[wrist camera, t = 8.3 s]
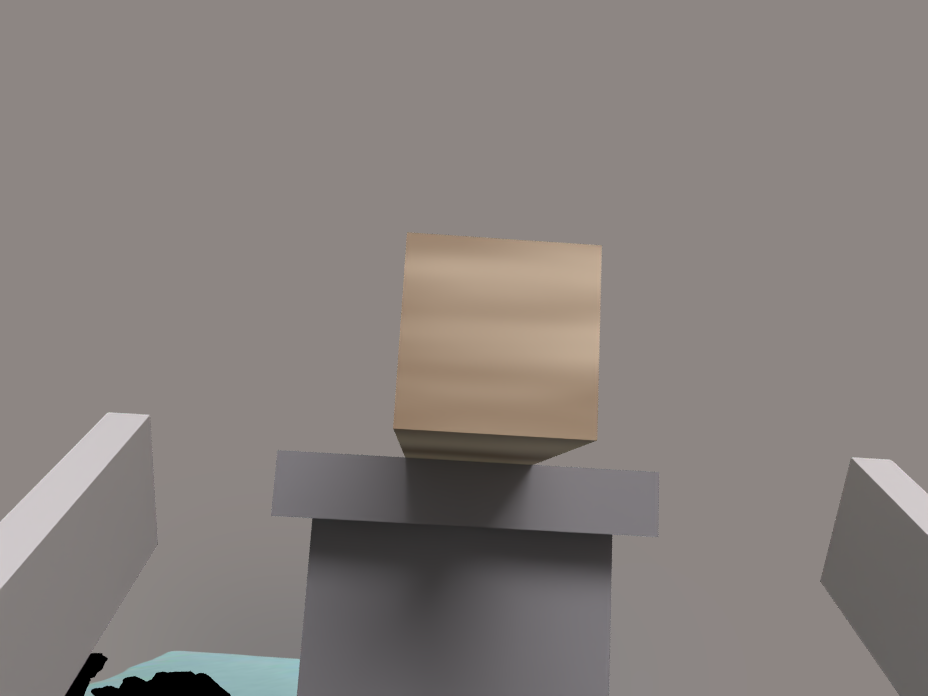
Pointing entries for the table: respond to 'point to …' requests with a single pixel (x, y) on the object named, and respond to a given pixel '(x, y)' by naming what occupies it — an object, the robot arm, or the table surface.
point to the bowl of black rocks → (146, 683)
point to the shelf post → (458, 573)
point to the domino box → (497, 349)
